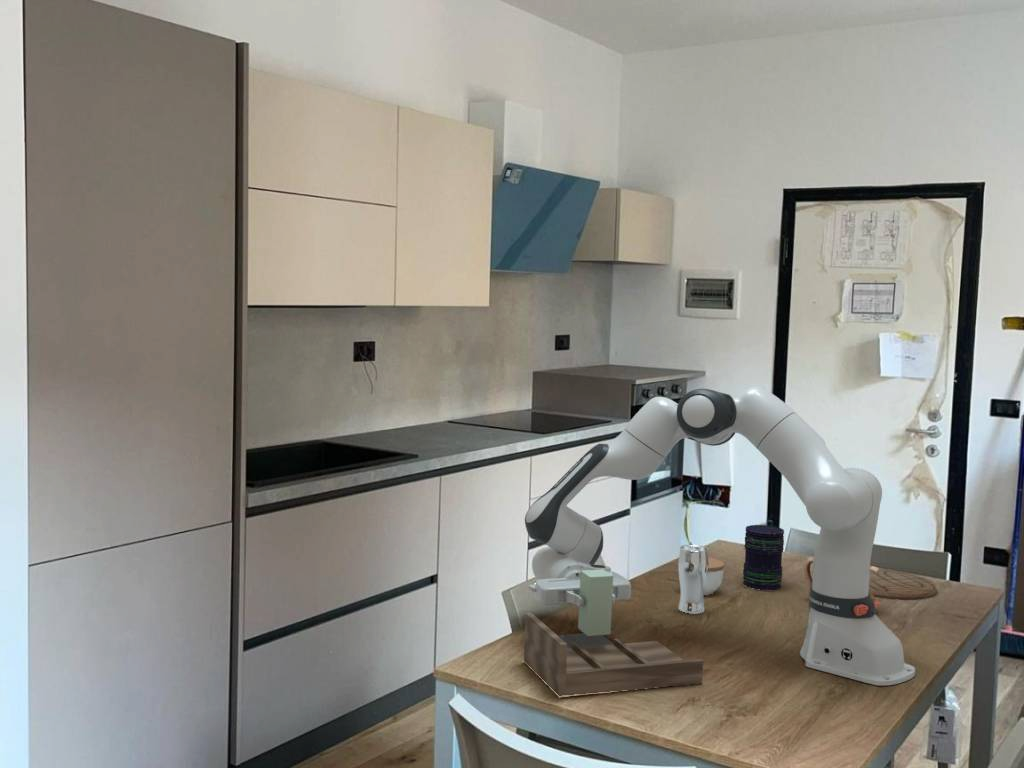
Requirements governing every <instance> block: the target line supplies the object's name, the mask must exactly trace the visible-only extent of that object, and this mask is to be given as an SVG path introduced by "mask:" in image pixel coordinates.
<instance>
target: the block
mask: <svg viewBox="0 0 1024 768" xmlns="http://www.w3.org/2000/svg"><path fill="white" fill-rule="evenodd" d="M612 592H613V575H611V574H610V573H608V572H606V571H605V570H603V569H600V570H582V571H581V572H580V595H583V596H584V597H586V605H585V606H578V621H577V622H578V623H577V624H578V625H577V629H578V630H580V631H581V632H582V633H585V634H586V635H587V636H595V635H603V636H606V635H611V634H612V633H611V631H612V630H611V629H612V611H613V604H612Z"/></svg>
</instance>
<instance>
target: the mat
mask: <svg viewBox="0 0 1024 768" xmlns="http://www.w3.org/2000/svg"><path fill="white" fill-rule="evenodd" d="M556 635H557V636H558V634H556ZM559 635H560V636H558V637H560V638H561V639H562V640H563V641H564V642H565V643H566V644H567V649H569V648H572V642H576V643H577V644H579V645H580V646H581V647H592V646H603V645H614V642H612V641H611V640H610V639H608V638H607V637H606V635H595V636H587V635H586V634H585V633H583V632H582V633H572V634H571V633H569V634H559ZM561 635H562V636H563V637H562V636H561Z"/></svg>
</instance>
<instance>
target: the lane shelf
mask: <svg viewBox="0 0 1024 768" xmlns="http://www.w3.org/2000/svg"><path fill="white" fill-rule="evenodd" d="M524 622H525V623H524V624H525V625H524V651H523V654H524V655H523V662H524V661H525V662H526V663H527V664H528V665H529V666H530V667H531V668H532V669H533V670H534V671H535V672H536V673H537V674H538V675H539V676H540V677H541V678H542V679H543V680H544V681H545V682H546V683H547V684H548V685H549V686H550V687H551V688H552V689H553V690H554V691H555V692H556V693H557V694H558V695H559V696H562V695H574V694H586V693H598V692H610V691H622V690H635V689H645V688H655V687H666V688H668V687H667V686H675V687H679V686H678V685H685V686H691V685H690V684H694V685H700V684H701V683H702V684H703V670H704V660H703V659H702V658H691V659H689V658H688V659H683V658H681V657H680V656H679V655H678V654H676V653H674V652H673V651H672V650H670V649H669V648H668V647H666V646H665V645H663V644H661V643H660V642H659V641H658V640H650V641H649V640H648V641H640V642H639V641H637V642H628V643H623V641H621V640H620V639H619V638H613V644H614V645H603V646H592V647H581V646H580V645H579V644H577V643H576V642H572V648H569V649H567V644H566V643H565V642H564V641H563V640H562V639H561V638H560V637H558V636H557V635H558V634H556V633H555V632H554V631H553V630H552V629H550V627H548V626H547V625H546V624H545V623H544V622H542V620H541V619H539V618H538V616H536V615H535V614H534V613H532V612H525V621H524ZM702 684H701V685H702Z"/></svg>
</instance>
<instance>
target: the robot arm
mask: <svg viewBox="0 0 1024 768" xmlns="http://www.w3.org/2000/svg"><path fill="white" fill-rule="evenodd" d="M735 434H739V435H741V436H743V438H745V439H747V440H748V441H749V443H751V444H752V445H753V446H754V447H755V448H756V450H757V451H758V452H759V453H761V454H762V456H763V457H765V458H766V459H767V460H768V461H769V462H770V463H771V464H772V466H774V467H775V468H776V469H777V471H779V472H780V474H781V475H782V476H783V477H784V478H785V479H786V481H787V482H788V483H789V485H790V486H791V488H792V489H793V490H794V492H795V493H796V495H797V497H798V498H799V500H800V501H801V503H802V504H803V505H804V506H805V508H806V511H807V515H808V516H809V518H810V520H811V521H812V522H813V524H815V525H817V526H818V527H819V528H820V530H819V535H818V538H817V541H816V542H817V543H816V545H815V547H814V550H813V557H814V563H812V565H813V566H812V587H811V588H810V587H809V593H808V594H809V596H808V608H809V616H808V623H807V627H806V633H805V638H804V640H803V643H802V646H801V649H800V651H799V656H800V657H801V658H802V659H804V661H805V663H804V664H805V667H807V668H810V669H813V670H818V671H822V672H825V673H827V674H828V673H829V674H832V675H836V676H839V677H843V678H848V679H851V680H855V681H859V682H863V683H866V684H870V685H872V686H873V685H874V686H892V685H898V684H900V683H904V682H906V681H909V680H912V679H913V678H914V677H915V675H916V668H915V666H913V665H911V664H909V663H906V662H905V655H904V648H903V645H902V644H903V643H902V642H901V640H900V639H899V638H898V637H897V635H896V634H894V633H893V631H891V629H890V628H888V626H887V625H886V624H885V623H884V622H883V621H882V620H881V619H880V618H879V617H878V616H877V615H876V613H877V612H876V608H879V607H881V605H880V603H881V601H880V600H878V601H875V602H874V603H873V601H872V599H871V596H870V594H869V593H868V592H869V577H870V566H871V560H872V552H873V546H874V543H875V537H876V532H877V526H878V521H879V513H880V507H881V502H882V497H883V488H882V485H881V482H880V480H879V479H878V478H877V477H876V476H875V474H873V473H871V472H870V471H867V470H865V469H863V468H859V467H847V468H843V466H842V465H841V464H840V463H839V462H838V460H837V459H836V458H835V456H834V455H833V454H832V452H831V451H830V449H829V448H828V447H827V445H826V442H825V440H824V438H823V437H821V435H820V434H818V432H816V430H815V429H814V428H812V427H811V426H810V425H809V424H808V423H807V422H806V421H805V420H804V419H803V418H802V417H801V416H800V415H799V414H798V413H797V412H796V411H794V409H792V408H791V407H790V406H789V405H788V404H787V403H785V401H783V400H782V399H780V398H779V397H777V395H775V394H774V393H772V392H770V391H769V390H768V389H765V388H764V387H762V386H756V385H755V386H750V387H747V388H745V389H744V390H742V391H741V392H739V393H738V395H736V396H734V397H732V396H731V395H730V394H728V393H724V392H720V391H717V390H713V389H709V388H696V389H692V390H690V391H688V392H686V393H685V394H684V395H683V396H682V397H681V399H680V400H679V402H678V403H677V402H676V401H674V400H672V399H671V398H669V397H664V396H655V397H653V398H651V399H649V400H648V401H647V402H646V403H644V405H643V406H642V407H641V408H639V410H638V412H636V413H635V414H634V416H633V417H632V418H631V419H630V420H629V422H628V423H627V425H626V426H625V428H623V430H622V432H621V433H619V435H617V436H616V437H615V438H613V439H611V440H610V441H608V442H606V443H597V444H596V445H594V446H592V447H591V448H590V449H589V450H588V451H587V452H586V453H584V455H583V456H582V457H580V458H579V459H578V460H577V461H576V462H575V463H574V464H573V465H572V467H570V469H568V471H567V472H566V473H565V474H564V475H563V476H562V477H561V478H560V479H558V481H557V482H555V484H554V485H553V486H552V487H551V488H550V489H549V490H547V491H546V492H545V493H544V494H543V495H541V496H540V497H539V498H538V499H536V500H535V501H534V502H533V503H532V504H531V505H530V507H529V508H528V510H527V512H526V513H525V515H524V516H525V517H524V523H525V529H526V532H527V534H528V537H529V538H530V539H531V540H534V541H536V542H538V543H541V544H543V545H545V546H546V547H542V548H541V549H539V550H537V551H536V552H535V554H534V555H533V557H532V561H531V567H532V569H531V570H532V573H533V576H534V577H535V579H536V581H535V582H533V583H532V584H529V585H528V590H530V592H533V593H535V595H534V596H535V598H536V600H537V601H538V603H540V605H545V606H552V605H553V606H554V605H566V604H567V605H576V606H578V607H579V606H585V605H586V597H584V596H583V595H580V572H581V571H582V570H600V569H603V570H605V571H606V572H608V573H610V574H611V575H613V592H612V605H613V604H616V601H625V600H626V601H627V600H629V599H630V598H631V596H632V595H631V594H632V593H631V592H632V584H631V581H630V580H629V579H627V578H626V577H625V576H623V575H622V574H620V573H618V572H615V571H612V568H611V567H610V566H608V565H602V564H600V565H599V564H595V563H596V562H597V561H598V559H599V557H600V556H601V554H602V551H603V548H604V533H603V530H602V528H601V526H600V525H599V524H597V523H596V522H593V520H590V519H589V518H587V517H586V516H584V515H581V514H580V513H578V512H576V511H575V510H573V509H572V508H570V507H568V505H569V503H571V501H573V499H574V498H575V497H576V496H577V495H578V494H579V493H580V492H581V491H582V490H583V489H584V488H585V487H586V486H587V485H588V484H589V483H590V482H591V481H593V480H594V479H598V478H600V477H601V478H602V477H611V478H618V479H623V480H629V481H634V480H635V481H637V480H642V479H646V478H648V477H650V476H653V474H654V473H655V472H656V471H657V470H658V469H659V468H660V466H661V465H662V464H663V462H664V461H665V459H666V458H667V456H669V454H670V452H671V451H672V449H673V448H674V447H675V446H676V444H677V443H679V441H681V440H682V439H688V440H691V441H694V442H698V443H700V444H703V445H706V446H712V447H713V446H715V447H716V446H721V445H723V444H725V443H727V442H729V441H731V439H732V438H733V437H734V436H735Z"/></svg>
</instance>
